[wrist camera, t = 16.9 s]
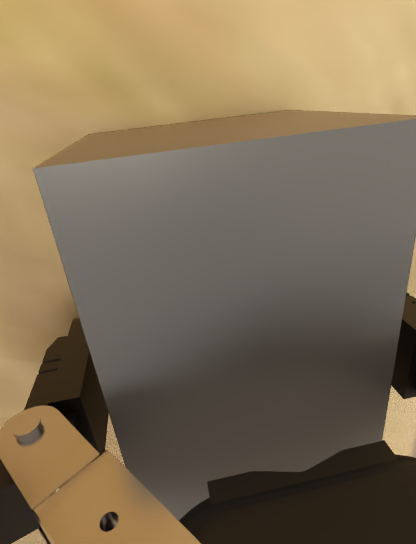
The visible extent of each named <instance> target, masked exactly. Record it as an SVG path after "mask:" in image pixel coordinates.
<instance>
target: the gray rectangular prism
mask: <svg viewBox="0 0 416 544" xmlns="http://www.w3.org/2000/svg"><path fill="white" fill-rule="evenodd" d="M33 170H34V174H35V177H36V180H37V183H38V187H39V190H40V193H41V196H42V199H43V203H44V206H45V209H46V212H47V215H48V219H49V222H50V225H51V228H52V232H53V235H54V238H55V241H56V244H57V248H58V251H59V254H60V257H61V261H62V264H63V267H64V270H65V273H66V277H67V280H68V283H69V286H70V289H71V293H72V296H73V299H74V302H75V306H76V309H77V312H78V315H79V318H80V322H81V325H82V328H83V331H84V334H85V338H86V341H87V344H88V347H89V351H90V354H91V357H92V360H93V363H94V367H95V370H96V373H97V376H98V380H99V383H100V386H101V389H102V392H103V396H104V399H105V402H106V405H107V408H108V412H109V415H110V418H111V421H112V425H113V428H114V431H115V434H116V437H117V441H118V444H119V447H120V450H121V453H122V457H123V460H124V463H125V466H126V468H127V469H128V470H129V471H130V472H131V473H132V474H133V475H134V476H135V477H136V478H137V479H138V480H139V481H140V482H141V483H142V484H143V485H144V486H145V487H146V488H147V489H148V490H149V491H150V492H151V493H152V494H153V495H154V496H155V497H156V499H157V500H158V501H159V502H160V503H161V504H162V505H163V506H164V507H165V508H166V509H167V510H168V511H169V512H170V513H171V514H172V515H173V516H174V517H175V518H176V519H177V520H178V521H179V520H180V519H181V518H182V517H183V516H184V515H185V514H186V513H187V512H188V511H190V510H191V509H192V508H194V507H195V506H196V505H198V504H199V503H200V502H202V501H204V500H206V499H207V498H209V491H208V485H207V482H208V481H212V480H216V479H220V478H225V477H229V476H233V475H238V474H242V473H246V472H250V471H276V472H302V471H306V470H308V469H310V468H311V467H313V466H315V465H317V464H318V463H320V462H322V461H324V460H326V459H327V458H329V457H331V456H333V455H334V454H336V453H338V452H340V451H342V450H345V449H349V448H353V447H358V446H362V445H366V444H370V443H375V442H379V441H382V437H383V431H384V425H385V419H386V413H387V407H388V401H389V395H390V389H391V383H392V377H393V370H394V364H395V358H396V352H397V346H398V340H399V334H400V328H401V322H402V316H403V310H404V304H405V298H406V292H407V285H408V279H409V273H410V267H411V261H412V255H413V249H414V243H415V237H416V116H415V115H392V114H370V113H347V112H325V111H303V110H285V111H277V112H269V113H260V114H252V115H244V116H236V117H227V118H219V119H211V120H203V121H194V122H186V123H178V124H170V125H161V126H153V127H145V128H137V129H128V130H120V131H112V132H104V133H95V134H88V135H87V136H85V137H84V138H82V139H80V140H79V141H77V142H75V143H74V144H72V145H70V146H69V147H67V148H66V149H64V150H62V151H61V152H59V153H57V154H56V155H54V156H53V157H51V158H49V159H48V160H46V161H44V162H43V163H41V164H39V165H38V166H36V167H35V168H33Z"/></svg>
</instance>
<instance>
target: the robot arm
mask: <svg viewBox="0 0 416 544" xmlns="http://www.w3.org/2000/svg"><path fill="white" fill-rule="evenodd" d="M42 362H43V364H41V367H40V369H39V374H38V375H37V377H36V380H35V383H34V385H33V388H32V391H31V393H30V396H29V399H28V401H27V404H26V407H25V409H24V411H22V412H20V413H18V414H17V415H15V416H14V417H12V418H11V419H10V420H9V421H7V422H6V423H5V424H4V426H3V427H2V428H1V429H0V544H11V543H13V542H15V541H17V540H18V539H20V538H22V537H24V536H26V535H27V534H29V533H31V532H33V531H34V530H36V529H38V530H39V532H40V534H41V535H42V537H43V539H44V540H45V542H46V544H416V458H414V457H410V456H402V455H394V453H393V452H392V450H391V449H390V448H389V446H388V445H387V443H386V442H385V441H384V440H383V441H379V442H375V443H370V444H366V445H362V446H358V447H353V448H349V449H345V450H342V451H340V452H338V453H336V454H334V455H333V456H331V457H329V458H327V459H326V460H324V461H322V462H320V463H318V464H317V465H315V466H313V467H311V468H310V469H308V470H306V471H302V472H276V471H250V472H246V473H242V474H238V475H233V476H229V477H225V478H220V479H216V480H212V481H208V482H207V485H208V491H209V498H207V499H206V500H204V501H202V502H200V503H199V504H198V505H196V506H195V507H194V508H192V509H191V510H190V511H188V512H187V513H186V514H185V515H184V516H183V517H182V518H181V519H180V520H179V521H178V520H177V519H176V518H175V517H174V516H173V515H172V514H171V513H170V512H169V511H168V510H167V509H166V508H165V507H164V506H163V505H162V504H161V503H160V502H159V501H158V500H157V499H156V497H155V496H154V495H153V494H152V493H151V492H150V491H149V490H148V489H147V488H146V487H145V486H144V485H143V484H142V483H141V482H140V481H139V480H138V479H137V478H136V477H135V476H134V475H133V474H132V473H131V472H130V471H129V470H128V469H127V468H126V467H125V466H124V465H123V464H122V463H121V462H120V461H119V460H118V459H117V458H116V457H115V456H114V455H113V454H112V453H110V452H109V451H107V450H105V443H106V433H107V423H108V413H109V412H108V408H107V405H106V402H105V399H104V396H103V392H102V389H101V386H100V383H99V380H98V376H97V373H96V370H95V367H94V363H93V360H92V357H91V354H90V351H89V347H88V344H87V341H86V338H85V334H84V331H83V328H82V325H81V322H80V318H75V319H73V321H72V324H71V327H70V331H69V334H68V336H64V337H59V338H57V339H56V340H55V341H54V342H53V344H52V345H51V346H50V347H49V348H48V349H47V351H46V353H45V356H44V359H43V361H42ZM391 385H392V386H393V388H394V389H395V390H396V391H397V392H398V393H399V394H400V395H401V396H402V398H403V399H407V398H411V397H416V298H414V297H413V296H409V294H408V293H407V292H406V298H405V304H404V310H403V316H402V322H401V328H400V334H399V340H398V346H397V352H396V358H395V364H394V370H393V377H392V383H391Z"/></svg>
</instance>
